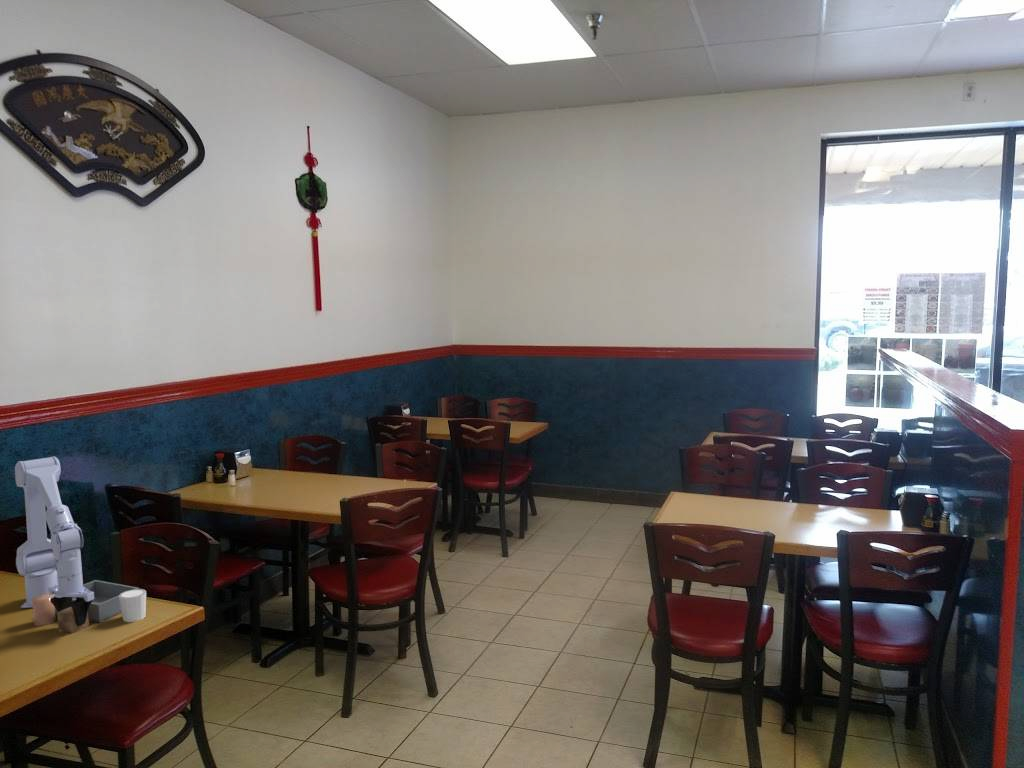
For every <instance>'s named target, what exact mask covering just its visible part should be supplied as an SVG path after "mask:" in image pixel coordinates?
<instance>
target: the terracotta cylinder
mask: <svg viewBox="0 0 1024 768" xmlns="http://www.w3.org/2000/svg"><path fill="white" fill-rule="evenodd" d="M53 597H54V595H53V594H52V595H50V594H42V595H38V596H36V597H34V598H33V599H32V602H33V607H32V610H33V611H32V613H33V623H34V626H35V627H36V626H37V627H43V626H47V625H51V624H53V622H54V623H55V622H56V621H57V619H56V618H57V617H56V614H55V607H54V605H53V604H52V603H51V602H50V599H51V598H53Z"/></svg>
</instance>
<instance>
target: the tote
mask: <svg viewBox="0 0 1024 768" xmlns="http://www.w3.org/2000/svg"><path fill="white" fill-rule="evenodd" d="M83 587H85V588H86V589H88V590H89V591H91V592H94V599H93V601H92V602H91V604H90V607H89V609H88V619H89V620H92V621H91V622H94V621H97V622H96V623H99V622H100V623H102V622H101V621H103V620H105V621H106V619H107V620H108V618H109V619H111V618H113V616H114V617H116V616H118V615H119V613H120V614H122V613H121V606H120V601H119V595H120V594H121V593H123V592H125V591H128V590H134V589H140V587H139V586H132V585H131V586H130V585H125V584H121V583H115V582H108V581H104V580H99V579H95V580H91V581H90V582H86V583H83ZM74 600H76V598H72V601H74ZM117 614H118V615H117ZM55 615H57V610H56V608H55ZM115 615H116V616H115ZM110 617H111V618H110ZM103 622H104V621H103Z"/></svg>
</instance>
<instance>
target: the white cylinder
mask: <svg viewBox="0 0 1024 768" xmlns="http://www.w3.org/2000/svg"><path fill="white" fill-rule="evenodd" d="M119 601H120V606H121V612H122V613H121V615H122V616H121V617H122V621H123V620H124V621H123V622H125V621H127V622H126V623H134V622H133V621H135V622H138V620H139V621H141V620H143V619H145V618H144V617H146V615H147V614H146V613H147V612H146V610H147V609H146V608H147V607H146V606H147V590H145V589H143V588H139V589H134V590H128V591H125V592H123V593H121V594H120V595H119Z"/></svg>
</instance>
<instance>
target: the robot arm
mask: <svg viewBox="0 0 1024 768" xmlns="http://www.w3.org/2000/svg"><path fill="white" fill-rule="evenodd" d="M61 472H62V470H61V463H60V459H58V457H56V456H50V457H43V458H37V459H35V458H34V459H29V460H19V461H17V462H16V464H15V466H14V476H15V477H14V478H15V484H16V487H19V488H23V492H24V503H25V504H24V505H25V517H26V518H25V520H26V534H27V540H26V541H25V542H23V543H22V544H21V545H20V546H18V547H17V548H16V549H17V550H16V557H15V567H16V569H17V572H18V574H19V575H20V576H24V587H25V599H26V601H24V603H23V604H22V605H21V606H20V609H26V608H27V609H28V608H33V602H32V599H33V598H34V597H36V596H38V595H42V594H50V595H52V594H53V595H54V597H53V598H51V599H50V602H51V603H52V604H53V605H54V607H55V608H56V610H57V612H59V611H62V610H64V609H67V608H69V607H72V609H73V612H74V616H75V622H76V625H77V626H80V625H83V624H85V622H86V617H87V612H88V609H89V607H90V604H91V602H92V601H93V599H94V592H91V591H89V590H88V589H86V588H85V587H83V585H84V581H83V567H82V566H83V565H82V555H81V549H82V548H83V547H84V535H83V532H82V529H81V527H79V526H78V523H75V521H74V519H73V516H72V514H71V511H70V509H69V506H67V505H65V504H63V503H62V500H61V495H60V491H59V487H58V482H59V480H60V475H61ZM47 526H48V529H49V532H50V538H48V531H47ZM72 598H76V600H74V601H72Z"/></svg>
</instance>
